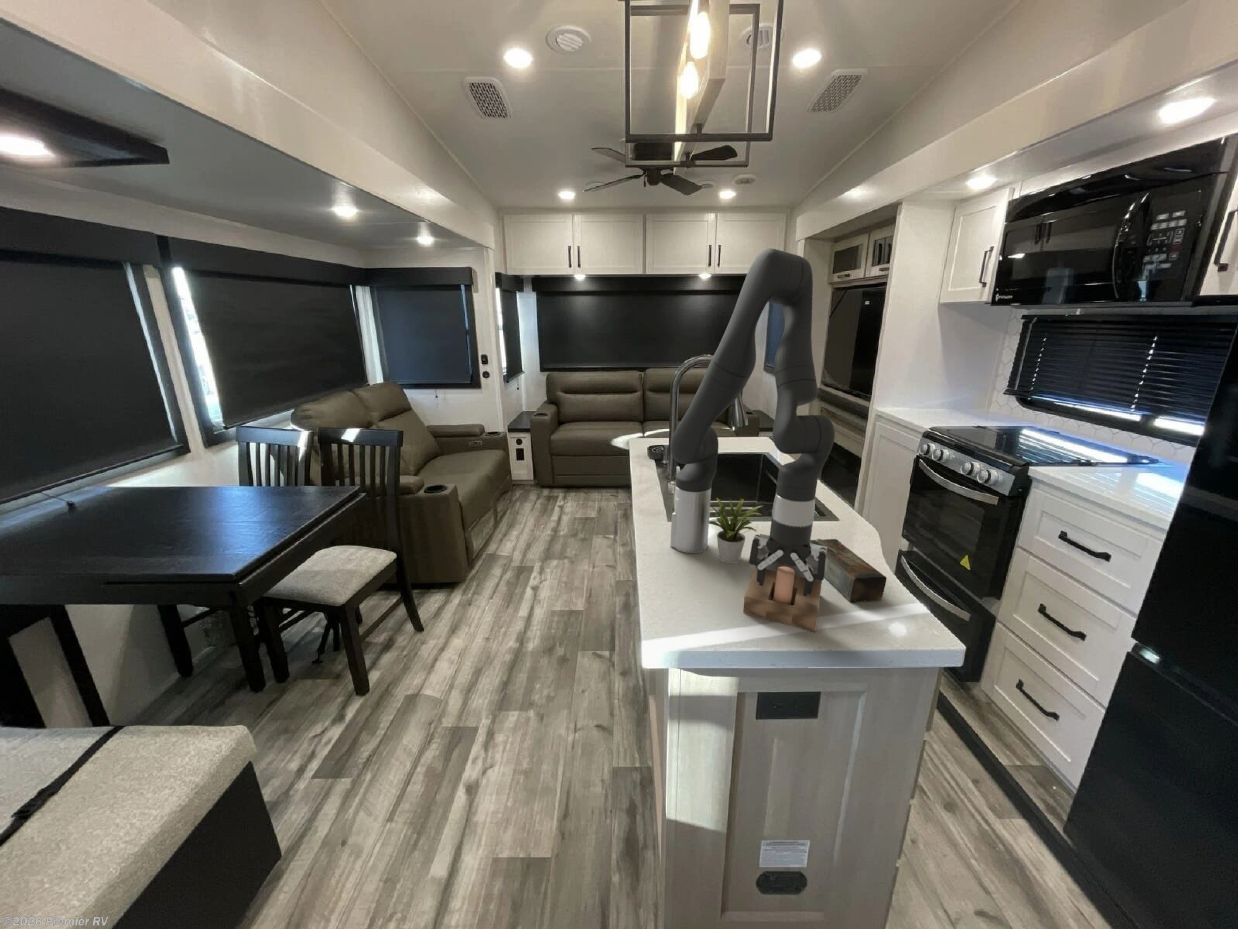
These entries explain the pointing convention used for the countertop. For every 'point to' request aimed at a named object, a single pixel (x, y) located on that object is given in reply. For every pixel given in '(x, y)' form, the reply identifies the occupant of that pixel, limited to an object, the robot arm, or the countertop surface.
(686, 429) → the robot arm
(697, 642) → the countertop surface
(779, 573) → the peg
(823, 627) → the countertop surface
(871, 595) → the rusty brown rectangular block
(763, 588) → the socket station
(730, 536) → the house plant
